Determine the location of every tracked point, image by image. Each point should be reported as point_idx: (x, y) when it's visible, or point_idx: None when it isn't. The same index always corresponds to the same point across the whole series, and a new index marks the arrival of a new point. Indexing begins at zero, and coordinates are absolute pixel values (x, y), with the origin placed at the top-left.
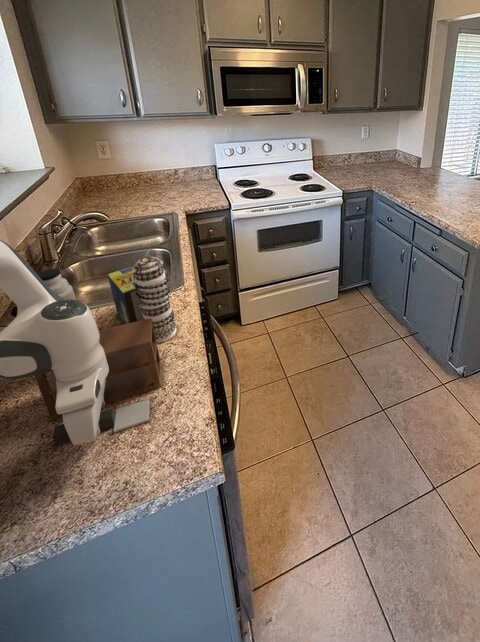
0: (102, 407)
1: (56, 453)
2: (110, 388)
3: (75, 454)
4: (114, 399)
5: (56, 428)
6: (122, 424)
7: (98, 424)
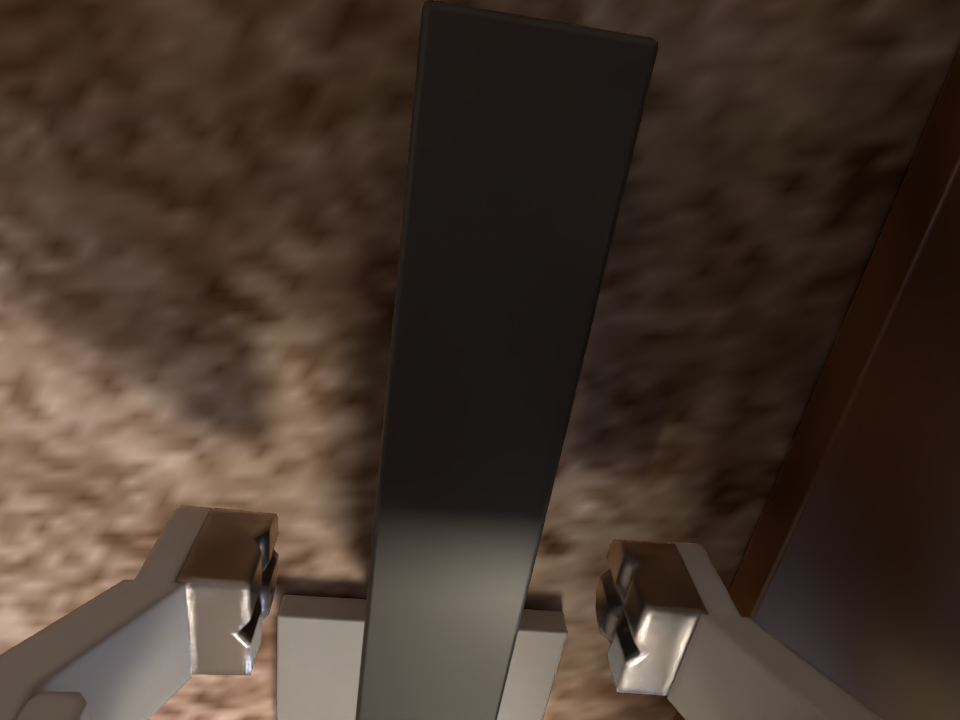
0: (606, 627)
1: (278, 31)
2: (922, 604)
3: (154, 268)
4: None
5: (572, 76)
6: (321, 677)
7: (238, 670)
